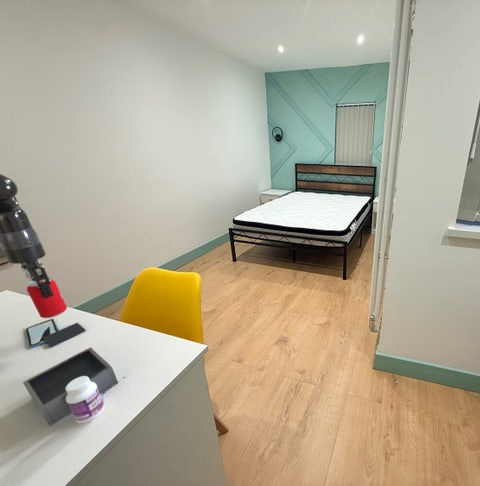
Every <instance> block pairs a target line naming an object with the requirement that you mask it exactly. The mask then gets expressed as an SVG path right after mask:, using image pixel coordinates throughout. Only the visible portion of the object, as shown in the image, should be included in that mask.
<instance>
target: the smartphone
mask: <svg viewBox="0 0 480 486" xmlns="http://www.w3.org/2000/svg"><path fill="white" fill-rule="evenodd" d="M54 320H55V318H49V319H48V320H47V319H46V320H44V321H42V322H38V323H35V324H33V325H31V326H28V327H26V328H25V329H24V332H25V336H26V337H25V338H26V341H27V345H28V346H27V347H28V348H29V349H34V348H37V347H38V346H42V345H44V344H47V343H46V342H45V340H44V339H43V337H45V336H48V335H50V334H52V333H54V332H57V331H59V330H60V329H59V328H58V325H57V323H56V321H54Z"/></svg>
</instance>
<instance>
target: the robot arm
mask: <svg viewBox="0 0 480 486" xmlns="http://www.w3.org/2000/svg"><path fill="white" fill-rule="evenodd" d="M18 191H19V189H18V185H17V184H16V182H15V181H14V180H13V179H12V178H10V177H8V176H6V175H4V174H1V173H0V247H1V249H2V251H3V253H4V255H5V257H6V259H7V262H8V263H9V264H13V265H17V264H18V265H20V269H21V270H22V272H23V273H24V275H25V277H26V278H27V279H28V281H29V282H31V281H32V282H35V283H36V285H37V287H38V288H39V290H40V292H41V294H42V297H43V298H48V297H51V296H53V293H52V290H51V288H50V286H49V285H51V282H50V281H49V279H48V277H49V276H48V273H47V272H46V268H45V266H44V264H43V263H42V262H40V260H39V259H42V258H44V257H45V256H46V254H47V253H46V250H45V249H44V246H43V245H42V241H41V240H40V237H39V235H38V233H37V231H36V230H35V229H34V227H33V224H32V222H31V220H30V218H29V216H28V213H27V212H26V211H25V210H24V209H23V207H21V205H20V204H19V201H18V199H17V197H16V196H17V194H18ZM38 260H39V261H38ZM43 279H44V281H45V282H43V283H40V282H39V281H40V280H43Z"/></svg>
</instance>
